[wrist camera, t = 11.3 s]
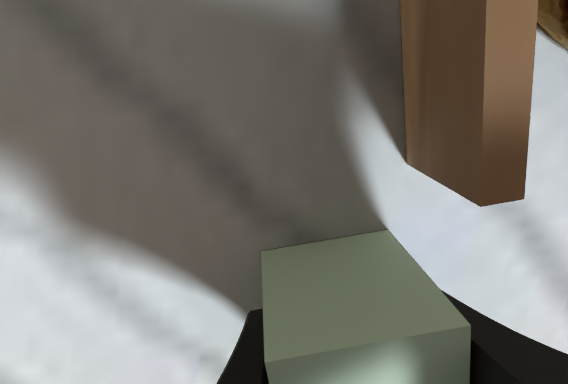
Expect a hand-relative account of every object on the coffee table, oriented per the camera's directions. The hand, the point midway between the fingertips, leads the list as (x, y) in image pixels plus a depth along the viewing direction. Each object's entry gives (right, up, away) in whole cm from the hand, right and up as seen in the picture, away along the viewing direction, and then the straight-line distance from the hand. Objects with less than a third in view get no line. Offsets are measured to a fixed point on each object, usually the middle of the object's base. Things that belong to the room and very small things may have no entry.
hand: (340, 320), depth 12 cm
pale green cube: (0, 0, +1) cm, 1 cm away
